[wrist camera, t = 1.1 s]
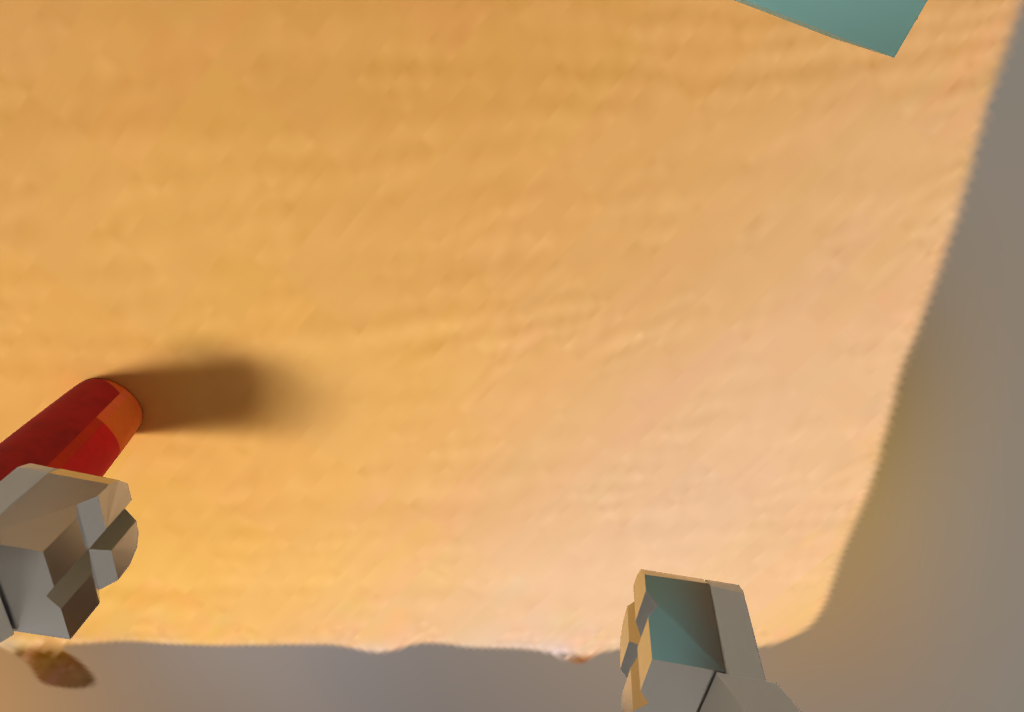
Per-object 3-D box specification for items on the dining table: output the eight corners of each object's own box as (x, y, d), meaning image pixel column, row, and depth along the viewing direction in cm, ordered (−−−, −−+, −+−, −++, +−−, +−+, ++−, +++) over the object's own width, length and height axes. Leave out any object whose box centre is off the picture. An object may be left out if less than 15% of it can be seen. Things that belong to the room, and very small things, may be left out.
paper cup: (43, 403, 54) (-104, 531, 42) (87, 348, 51) (-57, 470, 39) (128, 459, 57) (13, 595, 45) (175, 411, 54) (65, 543, 42)
